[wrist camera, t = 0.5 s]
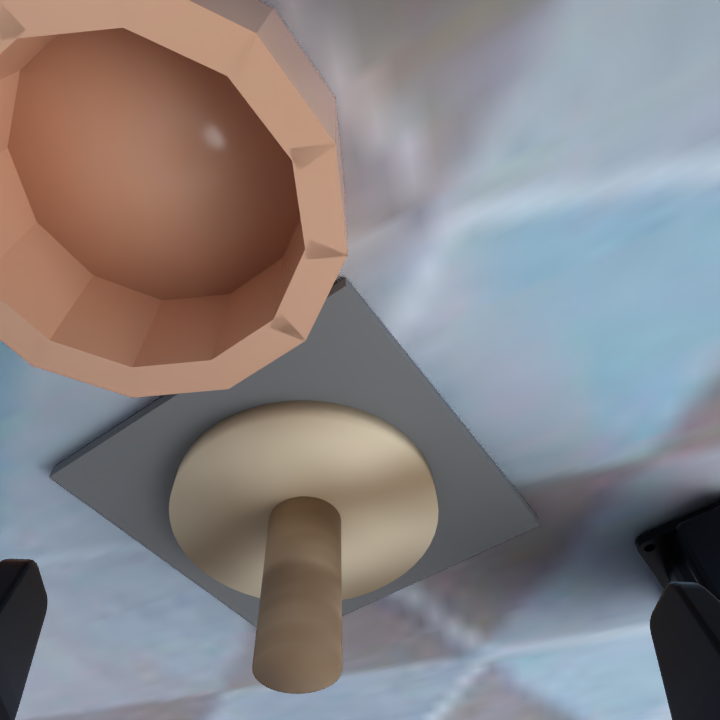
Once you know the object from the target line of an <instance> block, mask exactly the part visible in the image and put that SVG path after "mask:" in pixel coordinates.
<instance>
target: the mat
mask: <svg viewBox="0 0 720 720" xmlns="http://www.w3.org/2000/svg"><path fill="white" fill-rule="evenodd" d="M299 400H309V401H324V402H330V403H336V404H342V405H346V406H349V407H353V408H356V409H360V410H363V411H365V412H367V413H370V414H372V415H375V416H377V417H379V418H381V419H383V420H384V421H386V422H388V423H390V424H392V425H393V426H394V427H396V428H397V429H398V430H400V431H401V432H402V433H404V434H405V435H406V436H407V437H408V438H409V439H410V440H411V441H412V442H413V443H414V444H415V445H416V446H417V447H418V449H419V450H420V451H421V453H422V454H423V455H424V457H425V459H426V461H427V463H428V465H429V467H430V469H431V472H432V475H433V479H434V483H435V489H436V495H437V502H438V510H439V512H438V524H437V528H436V531H435V535H434V537H433V539H432V541H431V544H430V546H429V547H428V549H427V550H426V552H425V553H424V555H423V556H422V557H421V558H420V559H419V560H418V562H417V563H416V564H415V565H414V566H413V567H412V568H410V569H409V570H408V571H407V572H406V573H405V574H403V575H402V576H400V577H399V578H397V579H396V580H394V581H393V582H391V583H389V584H387V585H385V586H383V587H381V588H379V589H377V590H374V591H372V592H369V593H367V594H364V595H360V596H357V597H354V598H350V599H345V600H342V616H343V615H346V614H348V613H350V612H352V611H354V610H356V609H359V608H361V607H363V606H365V605H367V604H370V603H372V602H374V601H376V600H378V599H381V598H383V597H385V596H387V595H389V594H392V593H394V592H396V591H398V590H400V589H402V588H405V587H407V586H409V585H411V584H413V583H416V582H418V581H420V580H422V579H424V578H427V577H429V576H431V575H433V574H435V573H438V572H440V571H442V570H444V569H446V568H448V567H451V566H453V565H455V564H457V563H459V562H462V561H464V560H466V559H468V558H470V557H473V556H475V555H477V554H479V553H481V552H484V551H486V550H488V549H490V548H492V547H494V546H497V545H499V544H501V543H503V542H505V541H508V540H510V539H512V538H514V537H516V536H519V535H521V534H523V533H525V532H527V531H530V530H532V529H534V528H536V527H538V526H540V524H539V521H538V518H537V515H536V514H535V512H534V511H533V510H532V509H531V508H530V506H529V505H528V504H527V503H526V501H525V500H524V499H523V498H522V496H521V495H520V494H519V493H518V491H517V490H516V489H515V488H514V486H513V485H512V484H511V483H510V481H509V480H508V479H507V478H506V476H505V475H504V474H503V473H502V471H501V470H500V469H499V468H498V466H497V465H496V464H495V463H494V461H493V460H492V459H491V458H490V456H489V455H488V454H487V453H486V451H485V450H484V449H483V448H482V446H481V445H480V444H479V443H478V441H477V440H476V439H475V438H474V436H473V435H472V434H471V433H470V431H469V430H468V429H467V428H466V426H465V425H464V424H463V423H462V422H461V420H460V419H459V418H458V417H457V415H456V414H455V413H454V412H453V410H452V409H451V408H450V407H449V405H448V404H447V403H446V402H445V400H444V399H443V398H442V397H441V395H440V394H439V393H438V392H437V390H436V389H435V388H434V387H433V385H432V384H431V383H430V382H429V380H428V379H427V378H426V377H425V375H424V374H423V373H422V372H421V370H420V369H419V368H418V367H417V365H416V364H415V363H414V362H413V360H412V359H411V358H410V357H409V355H408V354H407V353H406V352H405V350H404V349H403V348H402V347H401V345H400V344H399V343H398V342H397V341H396V339H395V338H394V337H393V336H392V334H391V333H390V332H389V331H388V329H387V328H386V327H385V326H384V324H383V323H382V322H381V321H380V319H379V318H378V317H377V316H376V314H375V313H374V312H373V311H372V309H371V308H370V307H369V306H368V304H367V303H366V302H365V301H364V299H363V298H362V297H361V296H360V294H359V293H358V292H357V291H356V289H355V288H354V287H353V286H352V284H351V283H350V282H349V281H348V279H347V278H346V277H345V278H344V279H342V280H340V281H339V282H337V283H336V284H334V285H333V286H332V288H331V290H330V292H329V294H328V296H327V298H326V300H325V302H324V304H323V306H322V308H321V310H320V313H319V315H318V317H317V319H316V321H315V323H314V325H313V327H312V329H311V331H310V333H309V335H308V337H307V339H306V341H304V342H303V343H301V344H300V345H298V346H296V347H295V348H293V349H292V350H290V351H288V352H287V353H285V354H284V355H282V356H280V357H279V358H277V359H276V360H274V361H273V362H271V363H269V364H268V365H266V366H265V367H263V368H261V369H260V370H258V371H257V372H255V373H253V374H252V375H250V376H249V377H247V378H245V379H244V380H242V381H241V382H239V383H237V384H236V385H234V386H233V387H231V388H230V389H224V390H213V391H202V392H191V393H180V394H169V395H164V396H162V397H160V398H159V399H157V400H156V401H154V402H153V403H151V404H150V405H148V406H147V407H145V408H144V409H142V410H140V411H139V412H137V413H136V414H134V415H133V416H131V417H130V418H128V419H127V420H125V421H124V422H122V423H120V424H119V425H117V426H116V427H114V428H113V429H111V430H110V431H108V432H107V433H105V434H104V435H102V436H100V437H99V438H97V439H96V440H94V441H93V442H91V443H90V444H88V445H87V446H85V447H84V448H82V449H80V450H79V451H77V452H76V453H74V454H73V455H71V456H70V457H68V458H67V459H65V460H64V461H62V462H60V463H59V464H57V465H56V466H54V468H53V470H52V472H51V474H50V476H49V478H51V479H52V480H53V481H55V482H56V483H57V484H59V485H60V486H62V487H63V488H64V489H66V490H67V491H69V492H70V493H71V494H73V495H74V496H75V497H77V498H78V499H80V500H81V501H82V502H84V503H85V504H87V505H88V506H89V507H91V508H92V509H93V510H95V511H96V512H98V513H99V514H100V515H102V516H103V517H105V518H106V519H107V520H109V521H110V522H111V523H113V524H114V525H116V526H117V527H118V528H120V529H121V530H123V531H124V532H125V533H127V534H128V535H129V536H131V537H132V538H134V539H135V540H136V541H138V542H139V543H141V544H142V545H143V546H145V547H146V548H147V549H149V550H150V551H152V552H153V553H154V554H156V555H157V556H159V557H160V558H161V559H163V560H164V561H165V562H167V563H168V564H170V565H171V566H172V567H174V568H175V569H177V570H178V571H179V572H181V573H182V574H183V575H185V576H186V577H188V578H189V579H190V580H192V581H193V582H194V583H196V584H197V585H199V586H200V587H201V588H203V589H204V590H206V591H207V592H208V593H210V594H211V595H212V596H214V597H215V598H217V599H218V600H219V601H221V602H222V603H224V604H225V605H226V606H228V607H229V608H230V609H232V610H233V611H235V612H236V613H237V614H239V615H240V616H242V617H243V618H244V619H246V620H247V621H248V622H250V623H251V624H253V625H254V626H255V627H257V622H258V613H259V604H260V598H257V597H254V596H251V595H247V594H244V593H242V592H239V591H237V590H234V589H232V588H229V587H227V586H225V585H224V584H222V583H220V582H218V581H216V580H215V579H213V578H212V577H210V576H209V575H207V574H205V573H204V572H203V571H202V570H201V569H199V568H198V567H197V566H196V565H195V564H194V563H193V562H192V561H191V560H190V559H189V558H188V557H187V556H186V554H185V553H184V551H183V550H182V549H181V547H180V546H179V544H178V542H177V540H176V538H175V536H174V534H173V531H172V527H171V524H170V518H169V502H170V495H171V492H172V488H173V485H174V481H175V478H176V474H177V471H178V468H179V465H180V463H181V461H182V459H183V457H184V456H185V454H186V452H187V451H188V450H189V448H190V447H191V446H192V444H193V443H194V442H195V441H196V440H197V439H198V438H199V437H200V436H201V435H202V434H203V433H204V432H205V431H207V430H208V429H210V428H211V427H213V426H214V425H215V424H217V423H218V422H220V421H222V420H224V419H226V418H228V417H230V416H231V415H233V414H236V413H239V412H241V411H244V410H246V409H249V408H253V407H256V406H260V405H264V404H269V403H276V402H283V401H299Z"/></svg>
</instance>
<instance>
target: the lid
mask: <svg viewBox="0 0 720 720" xmlns="http://www.w3.org/2000/svg"><path fill="white" fill-rule="evenodd" d="M438 512H439V510H438V502H437V495H436V489H435V483H434V479H433V475H432V472H431V469H430V467H429V465H428V463H427V461H426V459H425V457H424V455H423V454H422V453H421V451H420V450H419V449H418V447H417V446H416V445H415V444H414V443H413V442H412V441H411V440H410V439H409V438H408V437H407V436H406V435H405V434H404V433H402V432H401V431H400V430H398V429H397V428H396V427H394V426H393V425H392V424H390V423H388V422H386V421H384V420H383V419H381V418H379V417H377V416H375V415H372V414H370V413H367V412H365V411H363V410H360V409H356V408H353V407H349V406H346V405H342V404H336V403H330V402H324V401H309V400H299V401H283V402H276V403H269V404H264V405H260V406H256V407H253V408H249V409H246V410H244V411H241V412H239V413H236V414H233V415H231V416H230V417H228V418H226V419H224V420H222V421H220V422H218V423H217V424H215V425H214V426H213V427H211V428H210V429H208V430H207V431H205V432H204V433H203V434H202V435H201V436H200V437H199V438H198V439H197V440H196V441H195V442H194V443H193V444H192V446H191V447H190V448H189V450H188V451H187V452H186V454H185V456H184V457H183V459H182V461H181V463H180V465H179V468H178V471H177V474H176V478H175V481H174V485H173V488H172V492H171V495H170V502H169V518H170V524H171V527H172V531H173V534H174V536H175V538H176V540H177V542H178V544H179V546H180V547H181V549H182V550H183V551H184V553H185V554H186V556H187V557H188V558H189V559H190V560H191V561H192V562H193V563H194V564H195V565H196V566H197V567H198V568H199V569H201V570H202V571H203V572H204V573H205V574H207V575H209V576H210V577H212V578H213V579H215V580H216V581H218V582H220V583H222V584H224V585H225V586H227V587H229V588H232V589H234V590H237V591H239V592H242V593H244V594H247V595H251V596H254V597H257V598H260V604H259V613H258V622H257V631H256V640H255V648H254V657H253V666H252V670H253V674H254V676H255V678H256V679H257V680H258V681H259V682H260V683H261V684H263V685H264V686H266V687H268V688H270V689H273V690H276V691H279V692H284V693H293V694H301V693H311V692H315V691H319V690H322V689H325V688H327V687H329V686H330V685H332V684H333V683H335V682H336V681H337V680H338V679H339V677H340V676H341V673H342V600H345V599H350V598H354V597H357V596H360V595H364V594H367V593H369V592H372V591H374V590H377V589H379V588H381V587H383V586H385V585H387V584H389V583H391V582H393V581H394V580H396V579H397V578H399V577H400V576H402V575H403V574H405V573H406V572H407V571H408V570H409V569H410V568H412V567H413V566H414V565H415V564H416V563H417V562H418V560H419V559H420V558H421V557H422V556H423V555H424V553H425V552H426V550H427V549H428V547H429V546H430V544H431V541H432V539H433V537H434V535H435V531H436V528H437V524H438Z"/></svg>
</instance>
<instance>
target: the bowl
mask: <svg viewBox="0 0 720 720" xmlns="http://www.w3.org/2000/svg"><path fill="white" fill-rule="evenodd" d="M347 256H348V249H347V224H346V199H345V186H344V176H343V167H342V157H341V147H340V138H339V128H338V118H337V109H336V98H335V96H334V95H333V93H332V92H331V90H330V89H329V88H328V86H327V85H326V83H325V82H324V80H323V79H322V77H321V76H320V74H319V73H318V72H317V70H316V69H315V67H314V66H313V64H312V63H311V61H310V60H309V58H308V57H307V56H306V54H305V53H304V51H303V50H302V48H301V47H300V45H299V44H298V42H297V41H296V40H295V38H294V37H293V35H292V34H291V32H290V31H289V29H288V28H287V26H286V25H285V24H284V22H283V21H282V19H281V18H280V16H279V15H278V13H277V12H276V10H275V9H274V8H273V7H271V6H269V5H267V4H265V3H263V2H261V1H259V0H0V340H1V341H2V342H3V343H5V344H6V345H7V346H8V347H10V348H11V349H12V350H13V351H15V352H16V353H17V354H18V355H19V356H21V357H22V358H23V359H24V360H26V361H27V362H28V363H29V364H31V365H32V366H34V367H38V368H41V369H44V370H47V371H50V372H53V373H56V374H60V375H63V376H66V377H69V378H72V379H75V380H78V381H82V382H85V383H88V384H91V385H94V386H97V387H100V388H104V389H107V390H110V391H113V392H116V393H119V394H122V395H126V396H129V397H132V398H135V397H146V396H158V395H169V394H180V393H191V392H202V391H213V390H224V389H230V388H231V387H233V386H234V385H236V384H237V383H239V382H241V381H242V380H244V379H245V378H247V377H249V376H250V375H252V374H253V373H255V372H257V371H258V370H260V369H261V368H263V367H265V366H266V365H268V364H269V363H271V362H273V361H274V360H276V359H277V358H279V357H280V356H282V355H284V354H285V353H287V352H288V351H290V350H292V349H293V348H295V347H296V346H298V345H300V344H301V343H303V342H304V341H306V339H307V337H308V335H309V333H310V331H311V329H312V327H313V325H314V323H315V321H316V319H317V317H318V315H319V313H320V310H321V308H322V306H323V304H324V302H325V300H326V298H327V296H328V294H329V292H330V290H331V288H332V286H333V284H334V282H335V280H336V278H337V276H338V274H339V272H340V270H341V268H342V266H343V264H344V262H345V260H346V258H347Z"/></svg>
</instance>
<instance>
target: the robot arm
mask: <svg viewBox="0 0 720 720" xmlns="http://www.w3.org/2000/svg"><path fill="white" fill-rule="evenodd" d="M635 545H636V547H637V549H638V551H639V553H640V554H641V556H642V557H643V559H644V560H645V562H646V563H647V564H648V566H649V567H650V569H651V570H652V572H653V573H654V574H655V576H656V577H657V579H658V580H659V582H660V583H661V584H662V586H663V587H664V591H663V593H662V595H661V597H660V599H659V601H658V603H657V605H656V607H655V608H654V610H653V612H652V615H651V619H650V630H651V635H652V639H653V643H654V647H655V652H656V656H657V660H658V664H659V668H660V672H661V676H662V680H663V684H664V688H665V692H666V696H667V700H668V704H669V708H670V713H671V717H672V720H720V501H719V502H717V503H715V504H712V505H710V506H708V507H705V508H703V509H701V510H698V511H696V512H694V513H691V514H689V515H687V516H684V517H682V518H680V519H677V520H675V521H673V522H670V523H668V524H666V525H664V526H661V527H659V528H657V529H654V530H652V531H650V532H647V533H645V534H643V535H641V536H639V537H638V538H637V539H636V541H635ZM46 610H47V594H46V591H45V588H44V585H43V581H42V578H41V575H40V571H39V568H38V566H37V563H36V562H34V561H33V560H30V559H5V560H2V561H0V720H15V717H16V714H17V711H18V707H19V704H20V701H21V697H22V694H23V690H24V687H25V683H26V680H27V677H28V673H29V670H30V666H31V663H32V659H33V656H34V653H35V649H36V646H37V642H38V639H39V635H40V632H41V628H42V625H43V622H44V618H45V615H46Z"/></svg>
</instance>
